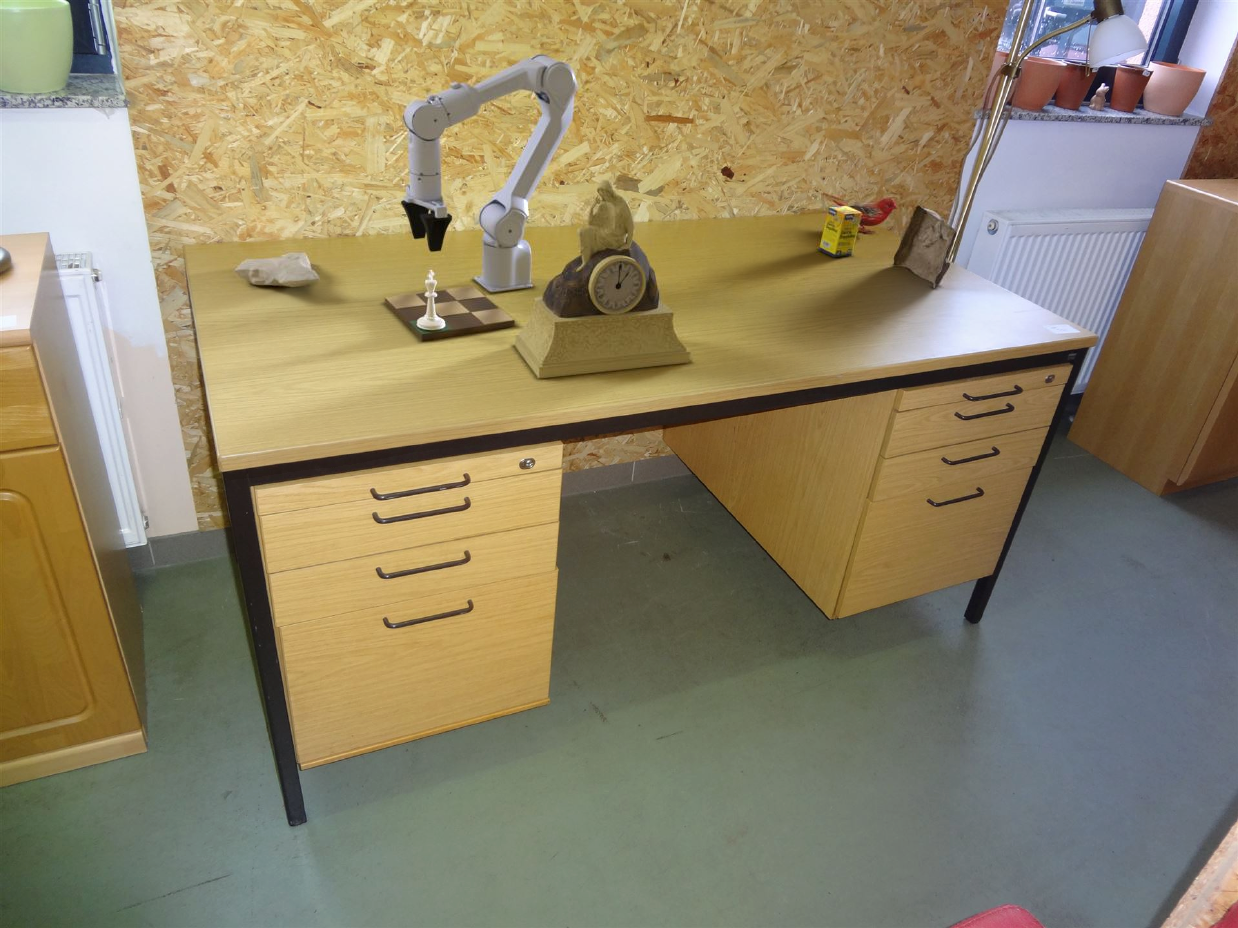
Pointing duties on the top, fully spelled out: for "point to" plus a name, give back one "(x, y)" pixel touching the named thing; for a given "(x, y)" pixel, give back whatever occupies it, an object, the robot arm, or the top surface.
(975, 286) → the top surface
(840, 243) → the supplement box
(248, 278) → the rock
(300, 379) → the top surface
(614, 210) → the decorative clock
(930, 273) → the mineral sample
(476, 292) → the game board
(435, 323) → the chess piece
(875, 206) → the decorative bird figurine
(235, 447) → the top surface
